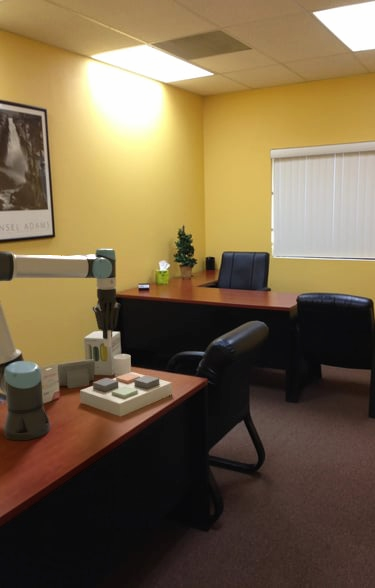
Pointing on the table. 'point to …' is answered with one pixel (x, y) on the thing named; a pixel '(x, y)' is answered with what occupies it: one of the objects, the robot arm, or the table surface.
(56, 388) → the ink cartridge box
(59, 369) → the digital clock
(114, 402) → the keypad
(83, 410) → the table surface
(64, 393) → the table surface
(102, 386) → the charcoal key
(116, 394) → the key green
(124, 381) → the key terracotta
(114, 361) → the white cup
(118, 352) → the supplement box
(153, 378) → the charcoal key
